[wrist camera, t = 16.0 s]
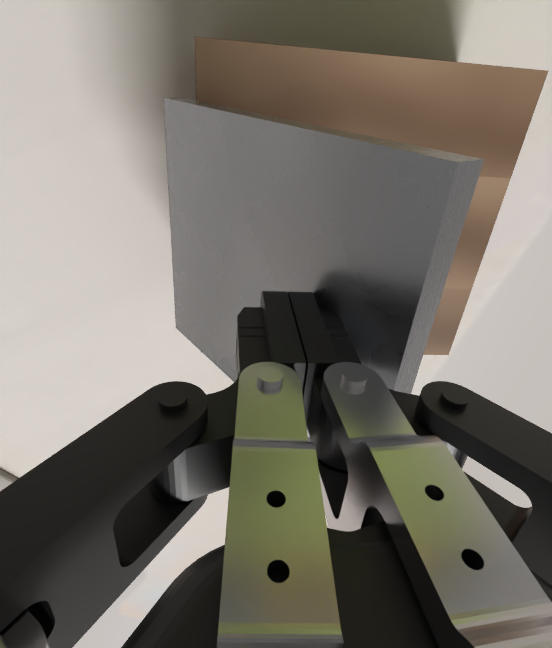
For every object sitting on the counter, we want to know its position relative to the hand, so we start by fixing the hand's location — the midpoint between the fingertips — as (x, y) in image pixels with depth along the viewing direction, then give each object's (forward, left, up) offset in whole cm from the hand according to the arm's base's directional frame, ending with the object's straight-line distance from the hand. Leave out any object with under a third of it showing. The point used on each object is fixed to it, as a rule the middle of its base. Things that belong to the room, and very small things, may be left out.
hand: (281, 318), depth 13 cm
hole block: (0, +4, -16) cm, 16 cm away
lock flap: (0, 0, -3) cm, 3 cm away
